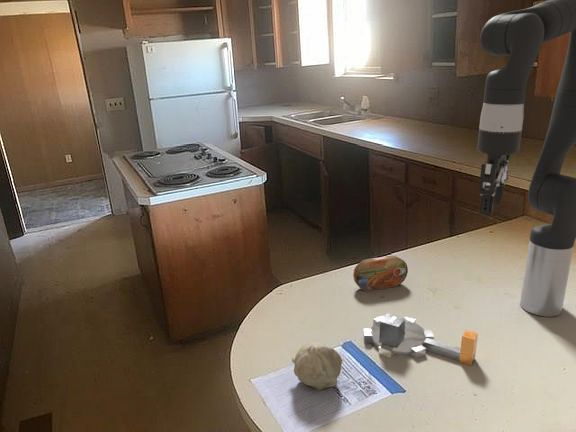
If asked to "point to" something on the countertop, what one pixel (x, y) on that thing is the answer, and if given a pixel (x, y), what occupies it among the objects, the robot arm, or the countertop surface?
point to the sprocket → (408, 346)
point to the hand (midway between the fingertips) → (490, 208)
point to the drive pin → (456, 348)
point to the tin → (380, 273)
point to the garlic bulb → (317, 365)
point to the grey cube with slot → (392, 330)
